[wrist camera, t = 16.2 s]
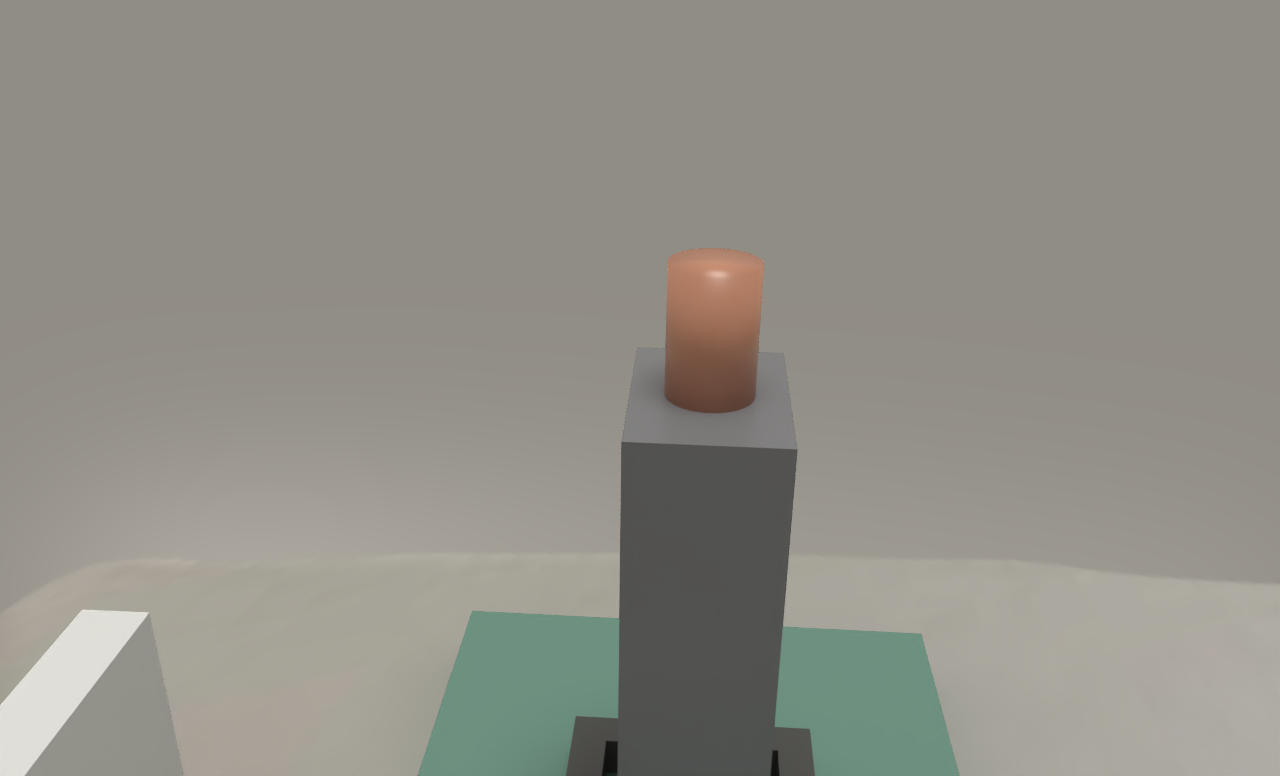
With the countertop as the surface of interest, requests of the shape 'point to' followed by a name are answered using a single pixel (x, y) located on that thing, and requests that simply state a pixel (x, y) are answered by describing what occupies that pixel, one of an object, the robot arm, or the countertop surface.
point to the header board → (588, 702)
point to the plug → (704, 530)
